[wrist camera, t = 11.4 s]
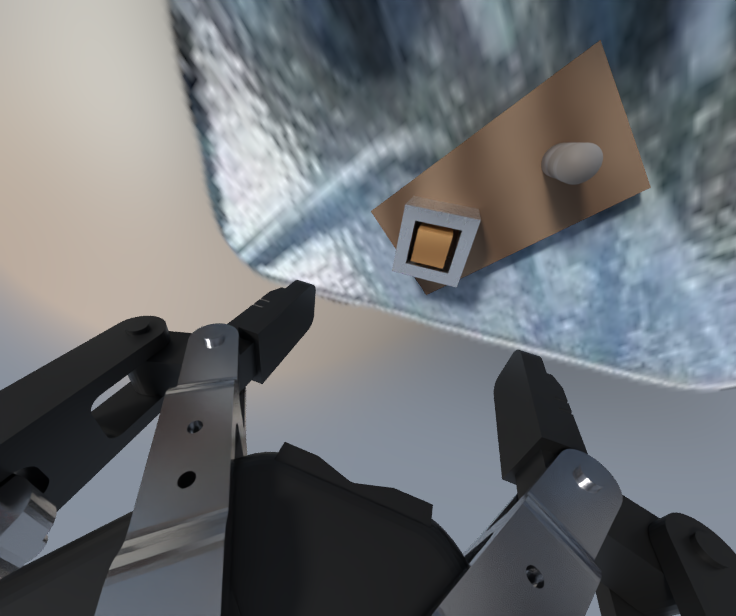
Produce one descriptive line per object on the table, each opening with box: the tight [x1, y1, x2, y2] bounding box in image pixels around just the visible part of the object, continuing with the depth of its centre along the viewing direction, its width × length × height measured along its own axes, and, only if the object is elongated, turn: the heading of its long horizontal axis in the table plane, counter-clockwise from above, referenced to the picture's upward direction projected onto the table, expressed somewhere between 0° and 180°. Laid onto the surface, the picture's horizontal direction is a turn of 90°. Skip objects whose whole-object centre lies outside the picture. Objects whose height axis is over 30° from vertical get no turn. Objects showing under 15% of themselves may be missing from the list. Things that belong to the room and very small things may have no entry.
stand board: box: [371, 40, 651, 295], centre depth 21 cm, size 18×10×6 cm, turn 127°
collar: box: [392, 196, 481, 287], centre depth 23 cm, size 6×6×4 cm
